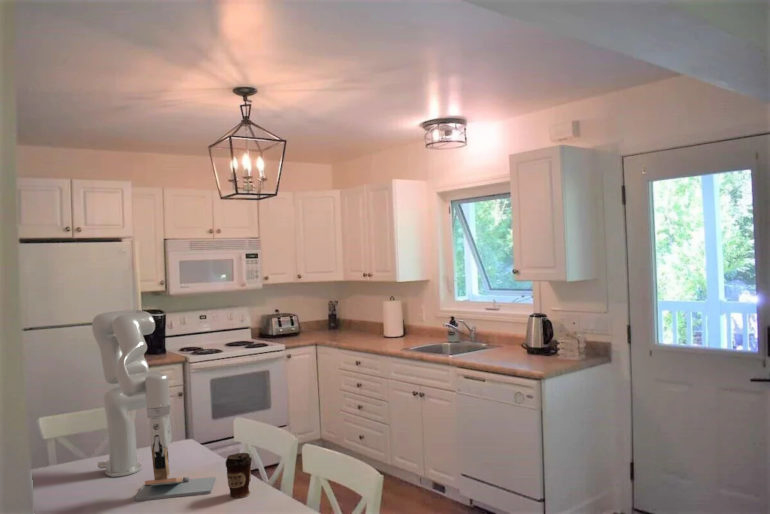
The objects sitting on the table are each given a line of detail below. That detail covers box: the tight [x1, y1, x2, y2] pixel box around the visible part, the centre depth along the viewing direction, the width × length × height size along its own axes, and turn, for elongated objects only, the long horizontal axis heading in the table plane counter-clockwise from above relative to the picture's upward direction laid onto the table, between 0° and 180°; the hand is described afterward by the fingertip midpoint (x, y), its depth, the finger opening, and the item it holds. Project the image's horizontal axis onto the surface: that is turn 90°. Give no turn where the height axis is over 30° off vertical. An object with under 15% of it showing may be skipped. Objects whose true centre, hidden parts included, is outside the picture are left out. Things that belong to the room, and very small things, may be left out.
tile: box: [144, 477, 183, 485], centre depth 209 cm, size 10×10×1 cm
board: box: [134, 476, 217, 502], centre depth 210 cm, size 24×13×2 cm, turn 98°
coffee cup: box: [225, 452, 253, 499], centre depth 202 cm, size 9×8×13 cm
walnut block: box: [150, 444, 170, 480], centre depth 206 cm, size 4×4×12 cm
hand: (162, 465), depth 206 cm, fingers closed on walnut block, 4 cm apart
